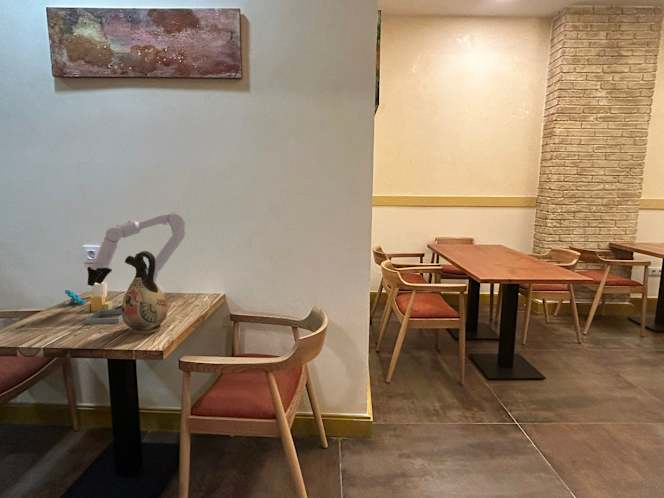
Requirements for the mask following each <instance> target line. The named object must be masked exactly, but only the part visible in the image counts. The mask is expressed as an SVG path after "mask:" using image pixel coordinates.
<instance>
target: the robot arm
mask: <svg viewBox="0 0 664 498" xmlns="http://www.w3.org/2000/svg"><path fill="white" fill-rule="evenodd" d="M160 224H161V225H165V226H168V225H169V227H170V230H171V233H172V234H171V237H170V238H169V239H168V240H167V242H166V243H165V244H164V246H163V247H162V249H161V250H160V251H159V252H158V254H157V255H156V257H155V272H154V278H153V281H154V283H156V285H157V286H158V287H159V289H160V290H161V291H162V293H163V295H164V294H165V293H164V287H163V286H162V285H158V283H157V282H156V281H157V277H158V275H159V274H160V272H161V271H162V269H163V268H164V266H165V264H166V263H167V262H168V260H169V259H170V258H171V256H172V255H173V254H174V252H175V251H176V249H177V248H178V247H179V246H180V243H182V241H183V240H184V238H185V229H186V227H185V226H186V223H185V220H184V217H183V216H182V215H181V214H180V213H178V212H175V211H173V212H170V213H163V214H158V215H156V216H152V217H150V218H148V219H144V220H141V221H137V220H131V219H130V220H127V222H124V223H123V224H122V223H121V224H118V223H117V224H116V225H115V226H111V227H109V228H108V229H107V230H106V231H105V237H104V238H103V241H102V243H101V245H100V247H99V250H98V253H97V255H96V259H95V260H91V263H92V264H91V266H87V269H86V270H87V276H88V277H87V285H88V286H93V285H94V284H95V282H96V283H99V284H101V283H102V282H104V280H105V279H106V278H107V276H108V275H109V274H110V273H112V271H113V269H112V268H111V266H112V260H113V257H114V255H115V253H116V250H117V248H118V243H119V241H120V240H121V239H122V238H123V239H125V238H129V237H131V236H133V235H138V234H140V233H141V230H143V229H146V228H149V227H154V226H156V225H160ZM148 268H149V265H147V269H146V272H147V275H148ZM164 296H165V295H164Z"/></svg>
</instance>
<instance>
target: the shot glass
mask: <svg viewBox="0 0 664 498" xmlns="http://www.w3.org/2000/svg"><path fill="white" fill-rule="evenodd" d="M91 292H92V296H93V295H105V298H106V296H108V282H107V281H103V282H102V283H101V284H99V283H96V282H95V284H94V285H93V286H91Z"/></svg>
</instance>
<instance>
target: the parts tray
mask: <svg viewBox="0 0 664 498" xmlns="http://www.w3.org/2000/svg"><path fill="white" fill-rule="evenodd" d="M121 310H122V308H121V309H114V310H99V311H97V312H96V313H94V314H90V316H89V317H87V318H85V324H86V325H85V326H86V327H87V326H92V325H95V324H114V325H115V326H116V325H117V326H118V325H120V324H119V323H121V322H122V321H124V320H123V318H122V311H121ZM101 315H102V316H103V315H107V316H108V315H119V316H118V317H101ZM87 324H88V325H87ZM91 324H92V325H91Z"/></svg>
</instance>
